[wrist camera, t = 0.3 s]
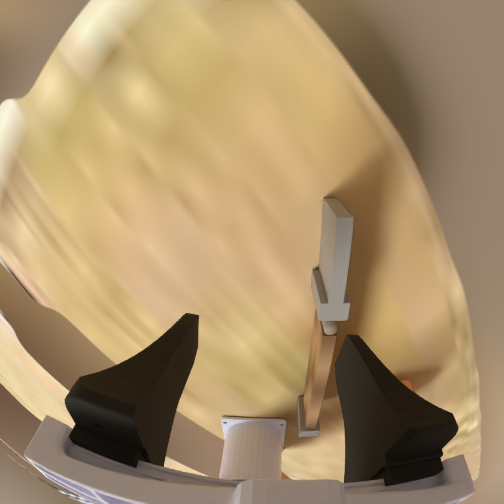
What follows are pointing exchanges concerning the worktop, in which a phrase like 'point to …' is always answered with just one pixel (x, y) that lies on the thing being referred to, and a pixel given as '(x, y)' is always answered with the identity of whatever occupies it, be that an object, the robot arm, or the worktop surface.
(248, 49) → the worktop surface
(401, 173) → the worktop surface
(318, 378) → the gate door
